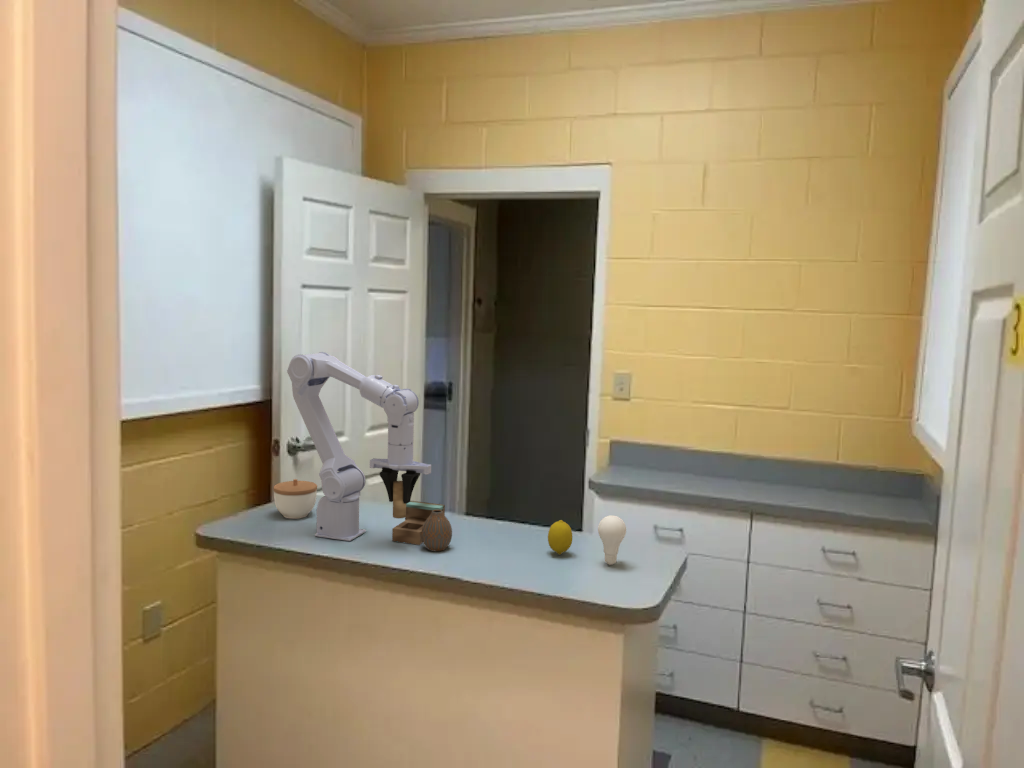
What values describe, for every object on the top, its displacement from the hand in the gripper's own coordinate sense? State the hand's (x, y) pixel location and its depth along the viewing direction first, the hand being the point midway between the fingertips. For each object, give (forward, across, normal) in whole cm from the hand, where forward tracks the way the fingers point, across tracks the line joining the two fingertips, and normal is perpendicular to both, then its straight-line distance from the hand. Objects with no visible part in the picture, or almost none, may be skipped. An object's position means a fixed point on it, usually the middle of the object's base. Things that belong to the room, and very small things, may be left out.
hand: (399, 501), depth 176 cm
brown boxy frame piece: (+10, +1, +7) cm, 13 cm away
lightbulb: (+10, +48, +7) cm, 49 cm away
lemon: (+10, +36, +9) cm, 38 cm away
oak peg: (+3, 0, 0) cm, 3 cm away
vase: (+10, +9, +1) cm, 14 cm away
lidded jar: (+10, -34, +10) cm, 37 cm away
